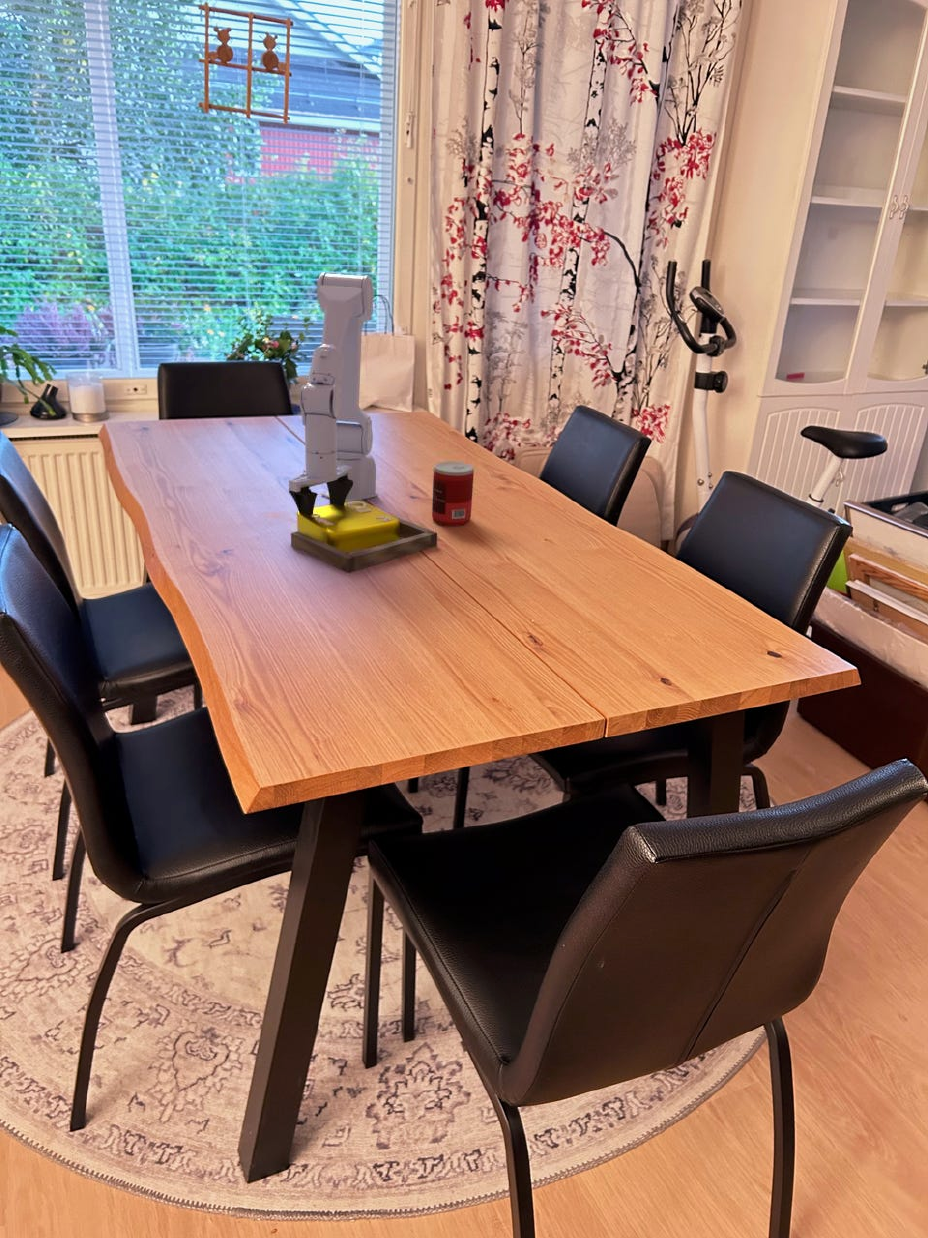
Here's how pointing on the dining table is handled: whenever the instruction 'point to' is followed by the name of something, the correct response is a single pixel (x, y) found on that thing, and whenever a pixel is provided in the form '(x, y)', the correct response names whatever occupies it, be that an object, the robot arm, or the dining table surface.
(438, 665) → the dining table surface
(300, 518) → the element tile
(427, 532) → the walnut holder
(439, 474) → the canned food
